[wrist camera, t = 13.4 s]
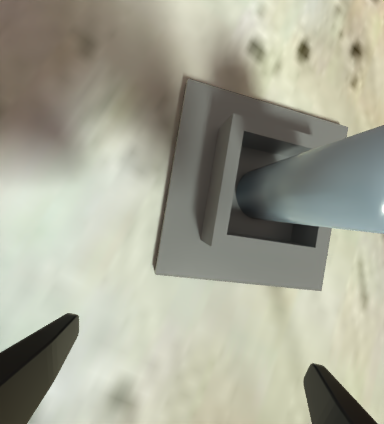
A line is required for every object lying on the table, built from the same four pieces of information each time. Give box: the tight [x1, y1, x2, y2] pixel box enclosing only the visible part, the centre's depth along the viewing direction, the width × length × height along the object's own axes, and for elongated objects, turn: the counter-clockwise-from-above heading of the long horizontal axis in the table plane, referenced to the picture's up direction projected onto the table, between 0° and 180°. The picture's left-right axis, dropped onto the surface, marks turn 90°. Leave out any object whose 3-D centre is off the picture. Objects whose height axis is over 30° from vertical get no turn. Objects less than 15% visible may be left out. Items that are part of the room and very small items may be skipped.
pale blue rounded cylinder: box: [236, 125, 384, 234], centre depth 14 cm, size 4×4×11 cm
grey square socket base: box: [155, 78, 348, 291], centre depth 18 cm, size 16×16×4 cm
